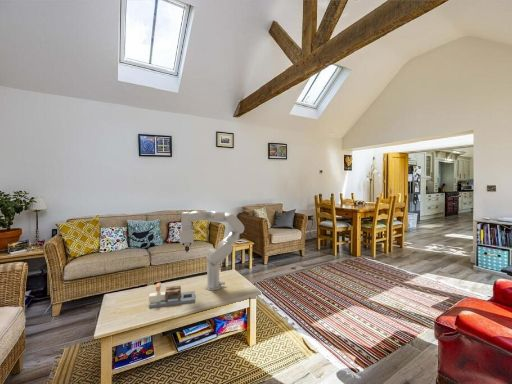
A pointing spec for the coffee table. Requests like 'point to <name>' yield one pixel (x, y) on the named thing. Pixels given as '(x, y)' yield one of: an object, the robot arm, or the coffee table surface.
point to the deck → (175, 300)
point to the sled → (157, 294)
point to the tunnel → (172, 292)
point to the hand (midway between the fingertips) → (187, 251)
